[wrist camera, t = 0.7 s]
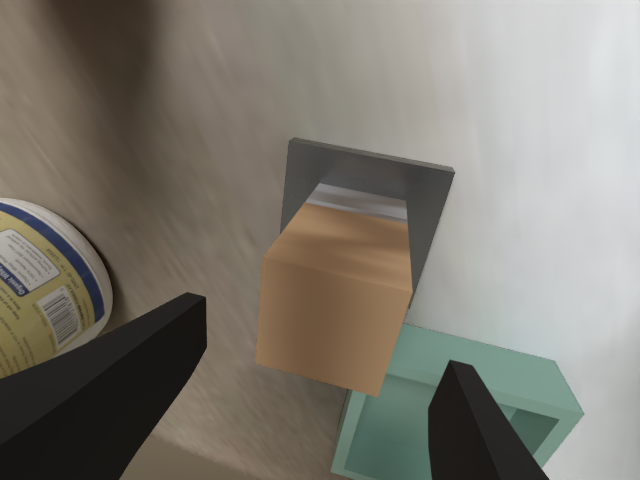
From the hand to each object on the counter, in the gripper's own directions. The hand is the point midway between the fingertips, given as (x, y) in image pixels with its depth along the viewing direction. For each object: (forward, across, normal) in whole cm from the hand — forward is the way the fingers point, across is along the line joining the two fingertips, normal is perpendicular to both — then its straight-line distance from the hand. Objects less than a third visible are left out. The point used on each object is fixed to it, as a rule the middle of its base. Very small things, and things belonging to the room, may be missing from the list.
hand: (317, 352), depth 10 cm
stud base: (+10, 0, 0) cm, 10 cm away
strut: (+9, 0, 0) cm, 9 cm away
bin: (+10, -8, +12) cm, 17 cm away
